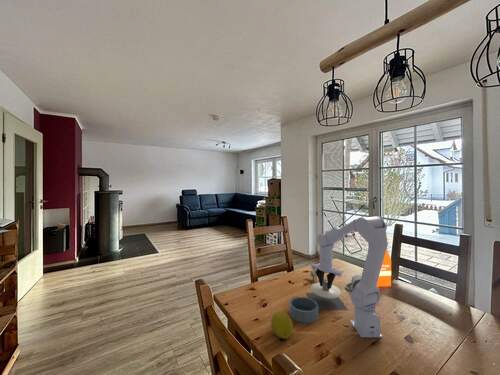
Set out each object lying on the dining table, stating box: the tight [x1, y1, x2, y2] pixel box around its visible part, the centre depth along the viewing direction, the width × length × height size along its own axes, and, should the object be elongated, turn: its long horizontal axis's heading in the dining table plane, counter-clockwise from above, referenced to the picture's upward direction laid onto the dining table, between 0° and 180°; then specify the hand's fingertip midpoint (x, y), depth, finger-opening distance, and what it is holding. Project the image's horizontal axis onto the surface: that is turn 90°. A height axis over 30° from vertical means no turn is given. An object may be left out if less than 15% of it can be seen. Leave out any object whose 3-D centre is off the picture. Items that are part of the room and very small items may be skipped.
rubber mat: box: [305, 292, 349, 311], centre depth 106 cm, size 15×15×1 cm
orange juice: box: [377, 248, 392, 288], centre depth 125 cm, size 8×9×20 cm
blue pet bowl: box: [288, 296, 320, 324], centre depth 95 cm, size 12×12×5 cm
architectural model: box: [307, 268, 318, 283], centre depth 130 cm, size 3×7×7 cm, turn 1°
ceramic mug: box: [344, 275, 362, 291], centre depth 117 cm, size 11×8×8 cm
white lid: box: [310, 279, 342, 298], centre depth 106 cm, size 14×14×4 cm
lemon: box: [270, 310, 294, 340], centre depth 83 cm, size 11×8×8 cm
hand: (325, 286), depth 106 cm, fingers closed on white lid, 3 cm apart
